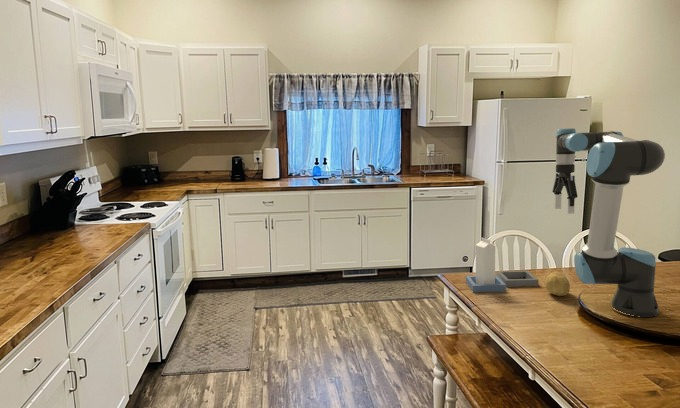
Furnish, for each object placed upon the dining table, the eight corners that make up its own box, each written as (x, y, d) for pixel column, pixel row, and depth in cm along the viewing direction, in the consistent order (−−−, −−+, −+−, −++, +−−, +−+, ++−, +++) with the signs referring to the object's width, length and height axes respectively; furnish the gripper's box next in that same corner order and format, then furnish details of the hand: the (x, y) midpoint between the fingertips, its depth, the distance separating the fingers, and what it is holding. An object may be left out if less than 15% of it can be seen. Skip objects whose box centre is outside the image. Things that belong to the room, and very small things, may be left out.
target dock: (505, 291, 205) (505, 284, 205) (473, 292, 206) (472, 285, 206) (496, 281, 219) (496, 275, 219) (465, 282, 220) (465, 276, 219)
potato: (540, 297, 197) (540, 275, 196) (549, 287, 208) (550, 266, 207) (566, 301, 191) (567, 278, 189) (574, 291, 202) (575, 269, 201)
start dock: (538, 286, 211) (538, 279, 210) (506, 287, 211) (506, 280, 211) (527, 276, 224) (527, 270, 224) (497, 277, 225) (497, 271, 225)
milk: (486, 284, 216) (487, 236, 213) (495, 287, 211) (495, 239, 208) (475, 286, 214) (475, 237, 211) (483, 289, 209) (484, 240, 206)
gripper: (587, 165, 199) (585, 215, 202) (562, 161, 223) (560, 206, 226) (568, 165, 199) (567, 215, 202) (545, 162, 224) (544, 207, 227)
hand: (563, 211), depth 214 cm, fingers open, 13 cm apart
